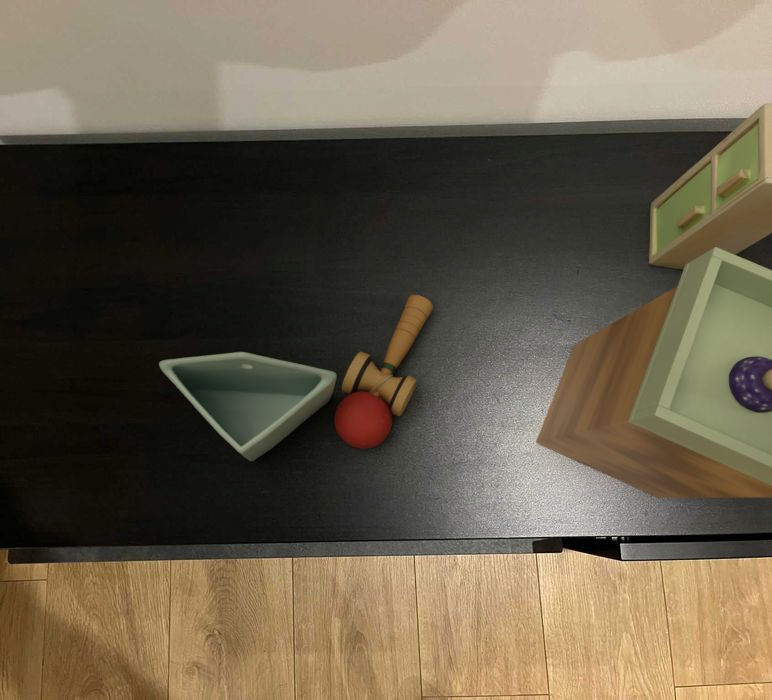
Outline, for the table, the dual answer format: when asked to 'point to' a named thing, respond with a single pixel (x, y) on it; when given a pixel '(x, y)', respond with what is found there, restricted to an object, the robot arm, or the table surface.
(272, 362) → the planter
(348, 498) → the table surface
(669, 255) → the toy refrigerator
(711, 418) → the box
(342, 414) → the kendama
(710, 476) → the stand
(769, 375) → the toy lamp
